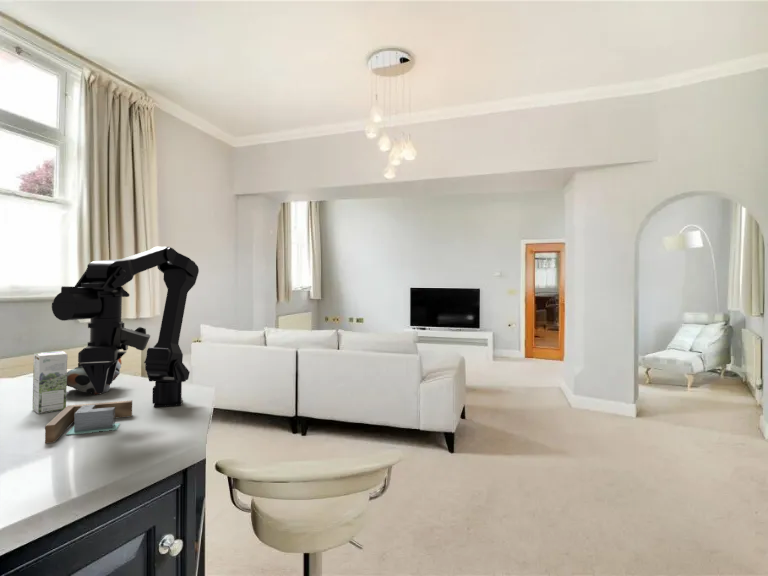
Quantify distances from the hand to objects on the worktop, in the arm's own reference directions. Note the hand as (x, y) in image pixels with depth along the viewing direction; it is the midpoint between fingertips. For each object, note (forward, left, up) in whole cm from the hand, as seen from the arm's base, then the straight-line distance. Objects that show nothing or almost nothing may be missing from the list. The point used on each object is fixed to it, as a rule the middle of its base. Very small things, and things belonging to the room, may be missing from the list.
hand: (104, 388), depth 93 cm
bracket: (+2, -2, -9) cm, 9 cm away
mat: (+2, -2, -9) cm, 9 cm away
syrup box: (+15, -21, -9) cm, 28 cm away
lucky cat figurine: (+10, -40, -9) cm, 42 cm away
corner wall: (+2, -2, -9) cm, 9 cm away
